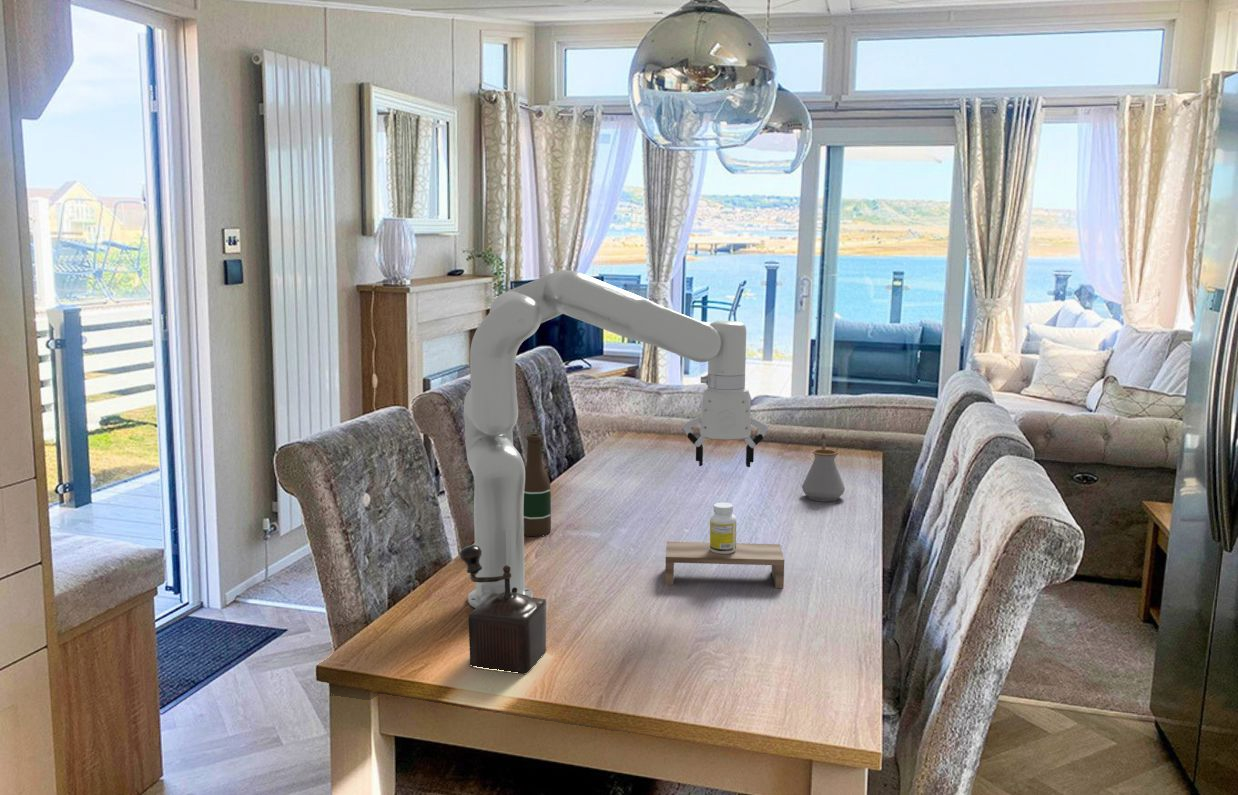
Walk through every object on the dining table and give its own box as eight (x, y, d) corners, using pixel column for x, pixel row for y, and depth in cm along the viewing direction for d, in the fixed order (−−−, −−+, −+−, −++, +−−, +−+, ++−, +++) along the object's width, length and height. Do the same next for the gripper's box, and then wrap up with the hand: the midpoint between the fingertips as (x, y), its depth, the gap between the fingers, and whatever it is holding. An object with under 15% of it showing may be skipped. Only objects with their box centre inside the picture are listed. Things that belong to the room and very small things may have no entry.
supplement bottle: (719, 544, 206) (720, 499, 205) (740, 549, 203) (741, 504, 201) (704, 551, 202) (705, 505, 201) (726, 556, 199) (727, 510, 197)
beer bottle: (546, 538, 230) (545, 438, 226) (514, 536, 231) (513, 437, 227) (555, 528, 237) (554, 432, 233) (524, 526, 239) (523, 430, 235)
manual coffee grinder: (550, 648, 169) (549, 548, 166) (526, 675, 159) (525, 570, 156) (467, 637, 174) (465, 540, 171) (440, 663, 163) (436, 560, 160)
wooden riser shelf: (783, 588, 198) (784, 559, 197) (665, 584, 200) (665, 556, 199) (779, 571, 208) (779, 544, 207) (666, 568, 209) (666, 541, 208)
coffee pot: (845, 504, 259) (847, 449, 257) (801, 502, 261) (803, 447, 259) (842, 484, 280) (844, 433, 277) (801, 482, 282) (803, 431, 279)
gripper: (683, 384, 194) (681, 468, 197) (771, 386, 192) (768, 470, 195) (683, 379, 201) (682, 460, 204) (767, 380, 200) (765, 461, 203)
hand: (724, 465), depth 200 cm, fingers open, 9 cm apart
